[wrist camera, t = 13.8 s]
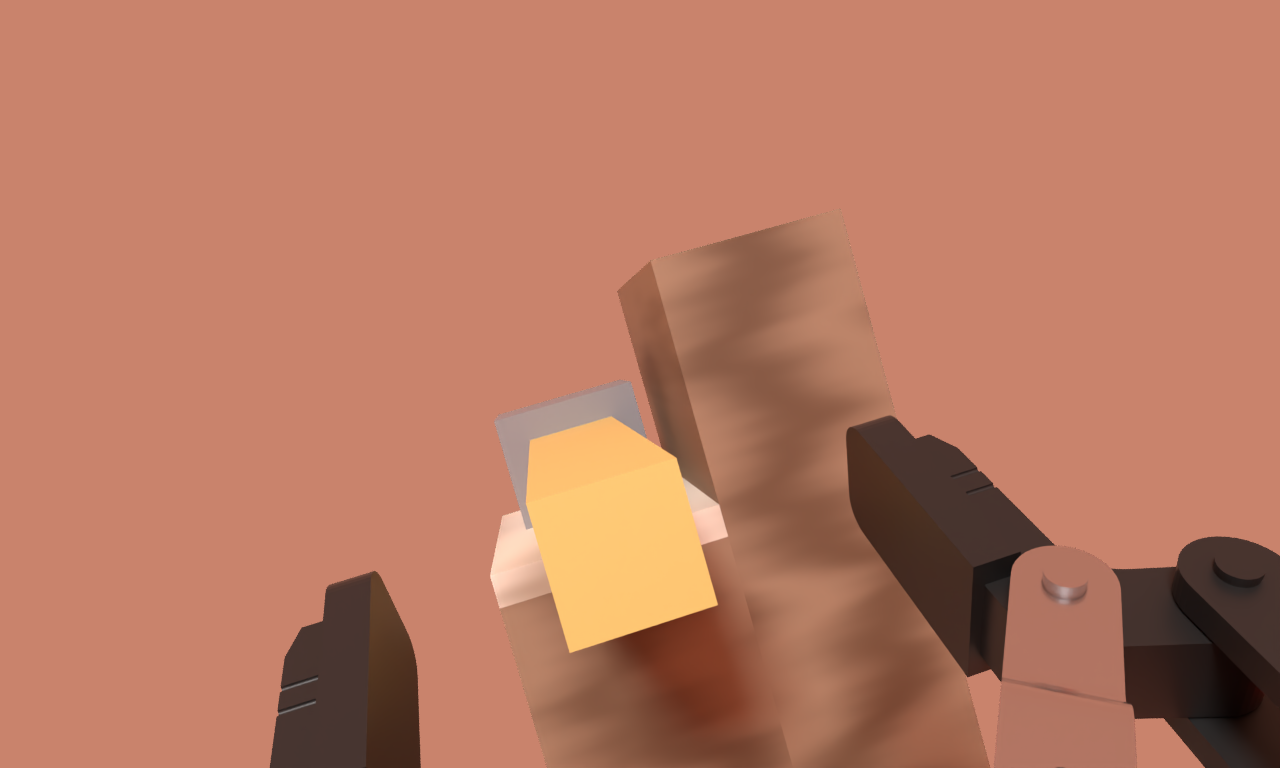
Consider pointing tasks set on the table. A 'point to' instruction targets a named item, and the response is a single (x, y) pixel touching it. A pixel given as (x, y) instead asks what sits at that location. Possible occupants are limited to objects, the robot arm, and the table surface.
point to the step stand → (752, 541)
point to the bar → (605, 514)
